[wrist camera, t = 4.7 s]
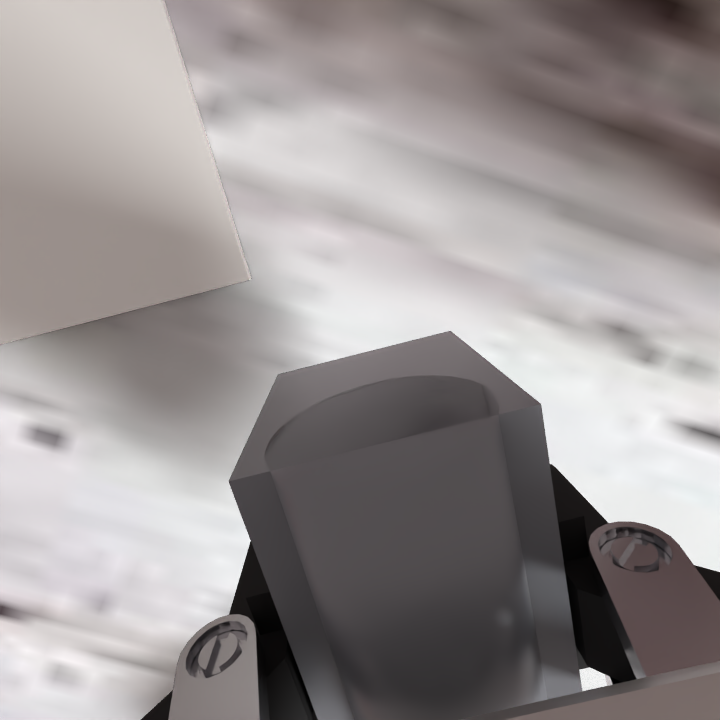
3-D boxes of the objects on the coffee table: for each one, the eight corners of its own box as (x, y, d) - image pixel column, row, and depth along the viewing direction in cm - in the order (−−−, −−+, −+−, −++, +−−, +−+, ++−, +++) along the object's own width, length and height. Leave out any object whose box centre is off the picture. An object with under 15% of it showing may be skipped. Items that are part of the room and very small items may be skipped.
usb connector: (450, 330, 11) (580, 435, 5) (511, 646, 13) (641, 951, 8) (277, 374, 11) (206, 526, 5) (373, 678, 14) (399, 1004, 8)
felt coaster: (132, -104, 13) (123, -120, 13) (251, 278, 17) (249, 280, 16) (-260, -13, 13) (-286, -25, 12) (-60, 359, 16) (-73, 363, 16)
